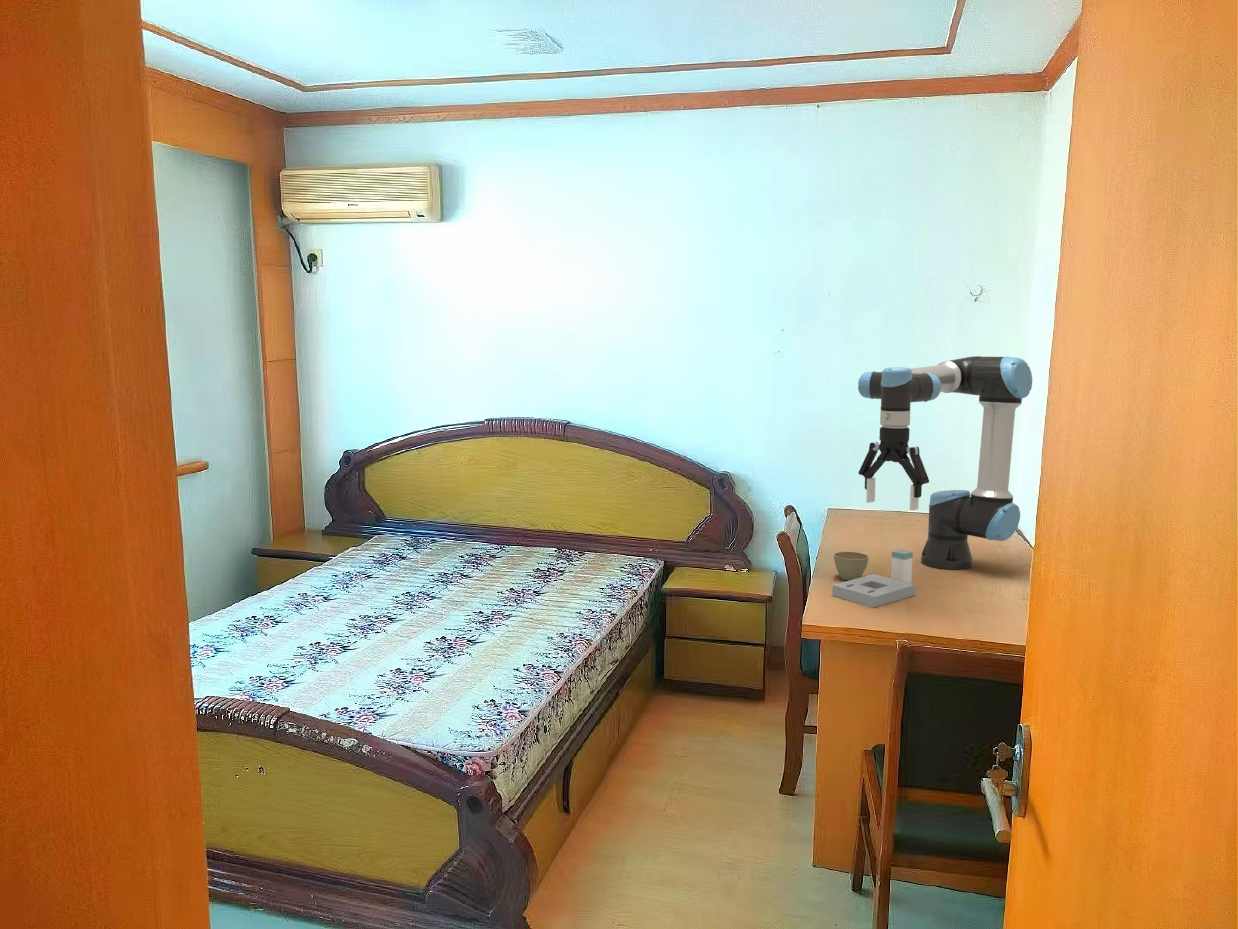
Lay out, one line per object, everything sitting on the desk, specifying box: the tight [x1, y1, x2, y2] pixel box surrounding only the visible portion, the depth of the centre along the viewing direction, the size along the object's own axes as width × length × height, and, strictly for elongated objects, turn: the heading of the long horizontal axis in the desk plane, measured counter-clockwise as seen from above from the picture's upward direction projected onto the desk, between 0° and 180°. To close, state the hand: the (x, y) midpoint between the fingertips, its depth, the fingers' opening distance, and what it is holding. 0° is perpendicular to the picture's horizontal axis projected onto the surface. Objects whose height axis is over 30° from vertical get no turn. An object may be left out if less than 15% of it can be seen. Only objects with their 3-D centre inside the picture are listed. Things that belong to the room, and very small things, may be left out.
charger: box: [890, 549, 914, 584], centre depth 255 cm, size 4×4×10 cm
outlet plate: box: [831, 573, 916, 609], centre depth 246 cm, size 18×14×3 cm
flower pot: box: [833, 550, 870, 581], centre depth 262 cm, size 10×10×7 cm
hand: (891, 505), depth 237 cm, fingers open, 13 cm apart
